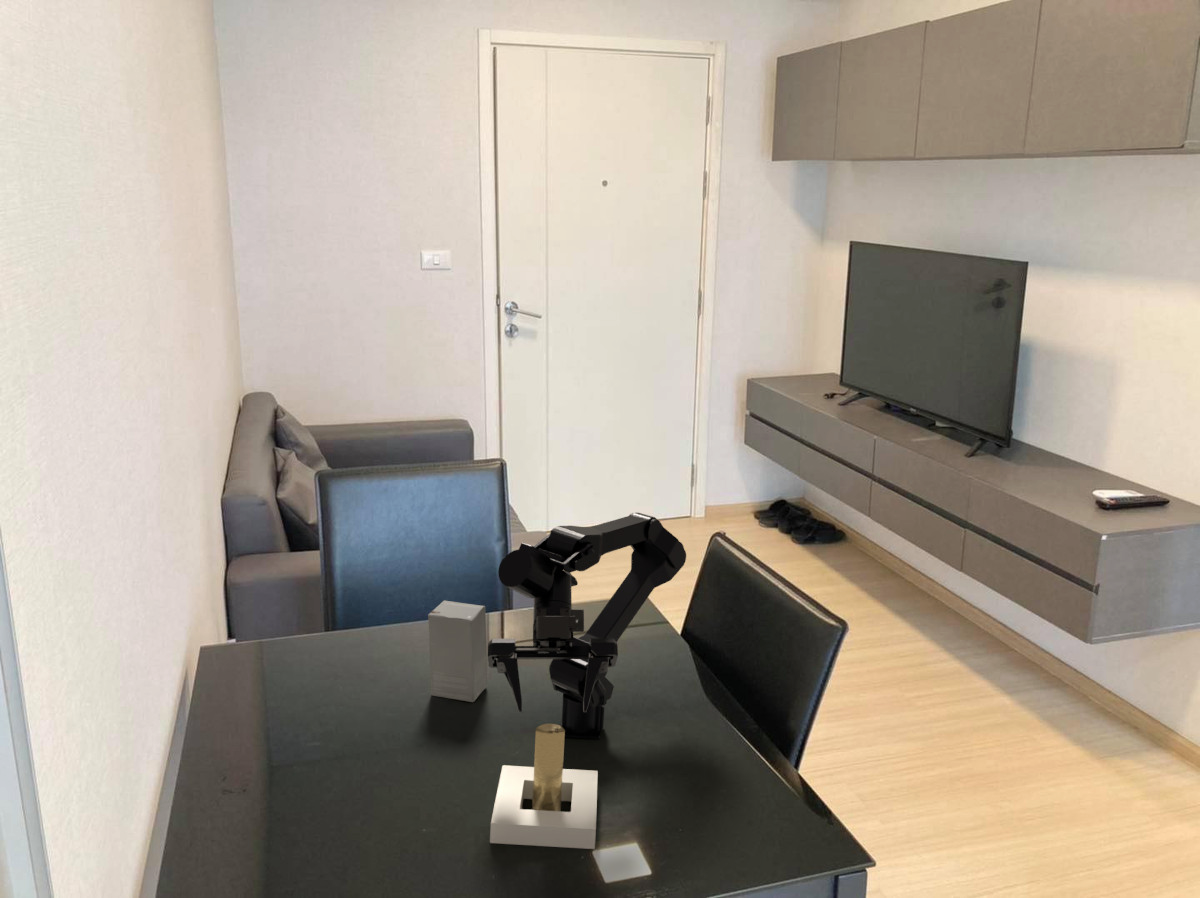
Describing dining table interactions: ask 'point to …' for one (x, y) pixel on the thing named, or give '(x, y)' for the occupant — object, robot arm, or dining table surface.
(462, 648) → the skincare box
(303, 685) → the dining table surface
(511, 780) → the socket block
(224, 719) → the dining table surface
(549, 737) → the brass tube
